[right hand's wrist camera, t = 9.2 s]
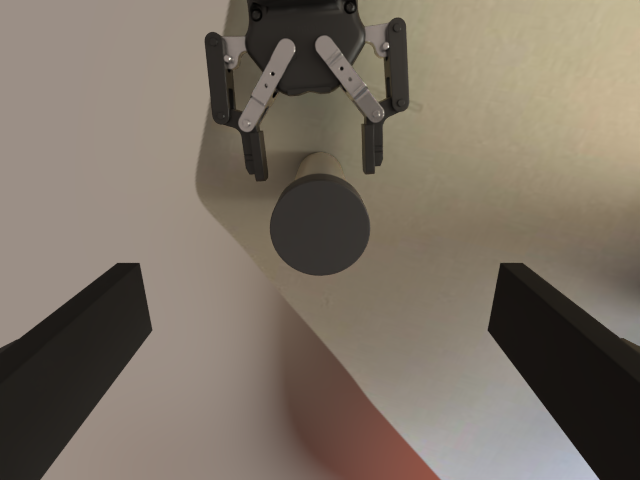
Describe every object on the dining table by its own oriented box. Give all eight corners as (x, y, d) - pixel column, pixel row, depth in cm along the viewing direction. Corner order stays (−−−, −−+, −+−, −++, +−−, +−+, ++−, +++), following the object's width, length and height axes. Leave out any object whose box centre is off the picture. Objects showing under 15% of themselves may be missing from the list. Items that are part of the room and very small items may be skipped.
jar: (336, 201, 36) (348, 271, 21) (293, 191, 36) (273, 255, 20) (347, 157, 35) (369, 198, 19) (302, 147, 34) (288, 180, 19)
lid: (352, 267, 23) (355, 284, 20) (267, 250, 22) (262, 265, 20) (376, 184, 21) (382, 193, 19) (284, 163, 20) (280, 170, 18)
